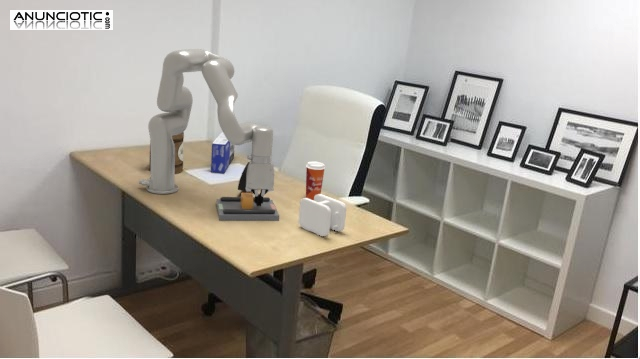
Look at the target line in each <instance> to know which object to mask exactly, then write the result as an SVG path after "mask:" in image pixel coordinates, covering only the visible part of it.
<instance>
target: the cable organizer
mask: <svg viewBox="0 0 640 359" xmlns="http://www.w3.org/2000/svg"><path fill="white" fill-rule="evenodd" d="M346 216H347V204H345V202H344V201H341V200H338V199H335V198H333V197H330V196H327V195H325V194H322V193H321V194H317V195H315V196H314V200H311V199H308V198H306V197H304V198H301V199H300V202H299V214H298V224H299V226H300V227H301V228H303V230H305V231H308V232H312V233H314V234H315V235H316V236H319V235H320V236H319V237H321V236H324V237H326V236H329V234H330V230H331V229H332V230H331V231H334V230H335V231H334V232H336V231H338V232H341V231H343V230H345V226H346Z"/></svg>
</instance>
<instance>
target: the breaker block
mask: <svg viewBox="0 0 640 359" xmlns="http://www.w3.org/2000/svg"><path fill="white" fill-rule="evenodd" d="M216 208H217V214H218V220H219V221H258V222H259V221H262V222H263V221H268V222H269V221H271V222H273V221H280V214H279V212H278V210H277V209H278V208H277V207H276V206H275V203H274V201H273V199H271V198H270V197H268V196H267V197H264V196H263V203H261V206H257V205H256V203H255V196H253V209H242V207H241V196H220V197H219V198H216Z"/></svg>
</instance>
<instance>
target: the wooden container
mask: <svg viewBox="0 0 640 359" xmlns="http://www.w3.org/2000/svg"><path fill="white" fill-rule="evenodd" d="M184 133H185V131H184V132H182V133H180V134H176V135H173V136H172V139H173V142H174V145H175V175H176V174H181V173H182V172H183V171H184V138H185V134H184ZM149 143H150V144H149V171H150V172H151V142H150V141H149Z"/></svg>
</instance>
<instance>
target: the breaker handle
mask: <svg viewBox="0 0 640 359" xmlns="http://www.w3.org/2000/svg"><path fill="white" fill-rule="evenodd" d="M240 197H241V207H242V209H253V197H254V194H253V193H252V192H241V194H240Z"/></svg>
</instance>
